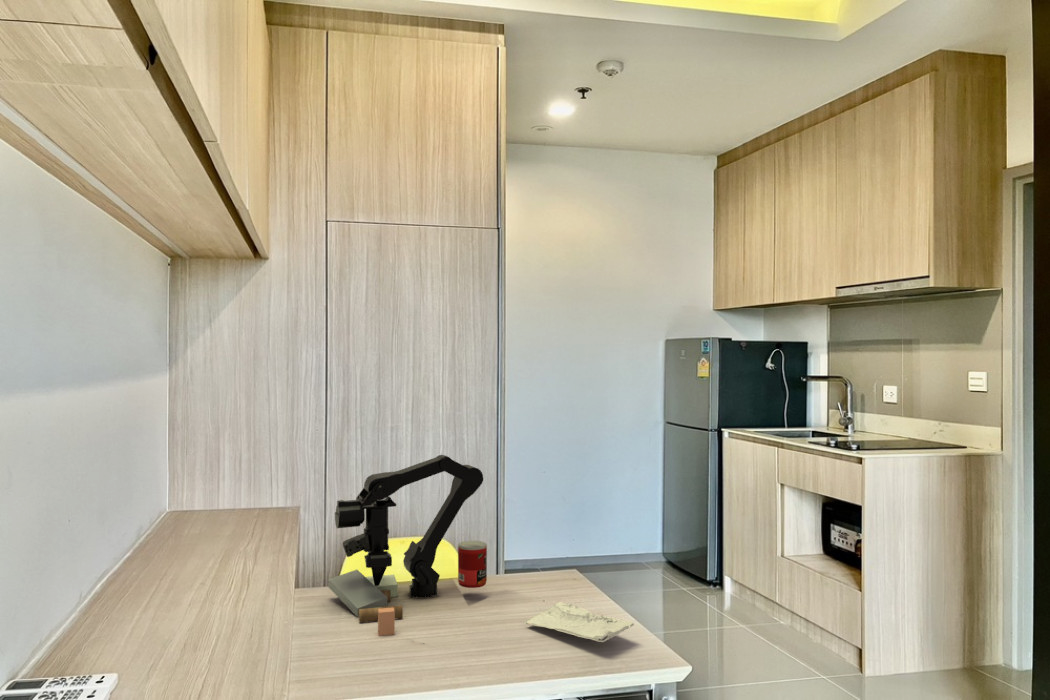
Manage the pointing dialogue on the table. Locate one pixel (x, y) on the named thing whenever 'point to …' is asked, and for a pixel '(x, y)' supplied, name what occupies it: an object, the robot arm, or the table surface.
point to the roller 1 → (387, 594)
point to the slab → (357, 591)
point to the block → (387, 584)
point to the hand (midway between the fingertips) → (376, 585)
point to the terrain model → (579, 622)
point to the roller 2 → (372, 613)
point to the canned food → (472, 564)
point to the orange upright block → (386, 621)
